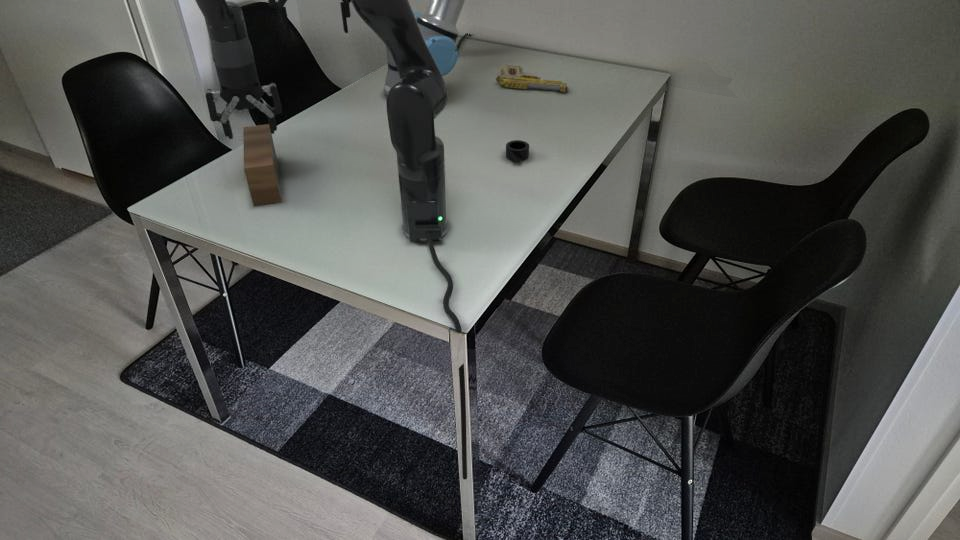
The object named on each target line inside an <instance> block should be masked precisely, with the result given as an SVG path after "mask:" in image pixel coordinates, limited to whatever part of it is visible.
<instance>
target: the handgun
mask: <svg viewBox="0 0 960 540" xmlns="http://www.w3.org/2000/svg"><path fill="white" fill-rule="evenodd" d="M500 73H501V74H497V76H496V77H495V80H496V83H498V84H499V85H501V86H503V87H505V88H513V89H520V90H521V89H522V90H528V89H534V90H541V91H542V90H544V91H555V92H559V93H563V94H565V93H566V92H568V91H569V86H568V83H566V82H563V81H562V80H551V79H542V78H541V77H540V76H537V75H530V74H525V73H523V66H522V65H521V66H520V65H516V64H504V65H503V66H501V69H500Z"/></svg>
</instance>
